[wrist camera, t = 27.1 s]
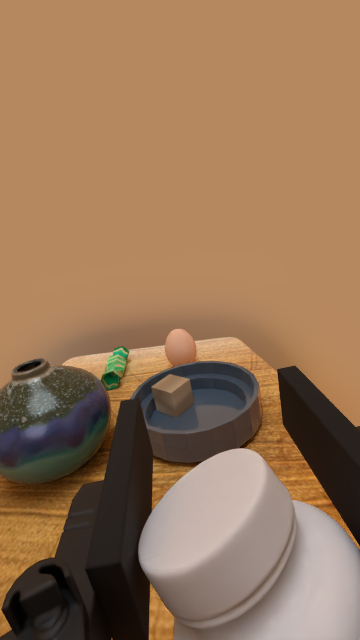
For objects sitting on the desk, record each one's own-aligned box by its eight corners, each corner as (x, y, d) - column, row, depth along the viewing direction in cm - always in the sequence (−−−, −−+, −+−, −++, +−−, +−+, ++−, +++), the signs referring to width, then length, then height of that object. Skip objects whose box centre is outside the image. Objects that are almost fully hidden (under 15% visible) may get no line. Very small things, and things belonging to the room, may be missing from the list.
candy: (125, 382, 55) (107, 367, 54) (112, 394, 56) (94, 379, 55) (133, 355, 67) (119, 342, 66) (122, 365, 67) (108, 353, 67)
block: (194, 402, 45) (189, 378, 44) (176, 418, 43) (171, 392, 42) (174, 396, 48) (169, 373, 47) (156, 410, 45) (150, 386, 44)
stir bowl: (280, 395, 44) (277, 367, 43) (226, 487, 31) (220, 450, 30) (181, 379, 54) (176, 356, 53) (110, 443, 41) (101, 415, 40)
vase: (50, 420, 50) (22, 344, 46) (138, 419, 45) (115, 335, 41) (-33, 504, 36) (-84, 405, 32) (82, 515, 31) (40, 401, 27)
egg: (182, 377, 55) (174, 337, 53) (163, 369, 60) (155, 332, 57) (205, 363, 58) (198, 326, 56) (185, 357, 63) (178, 322, 61)
